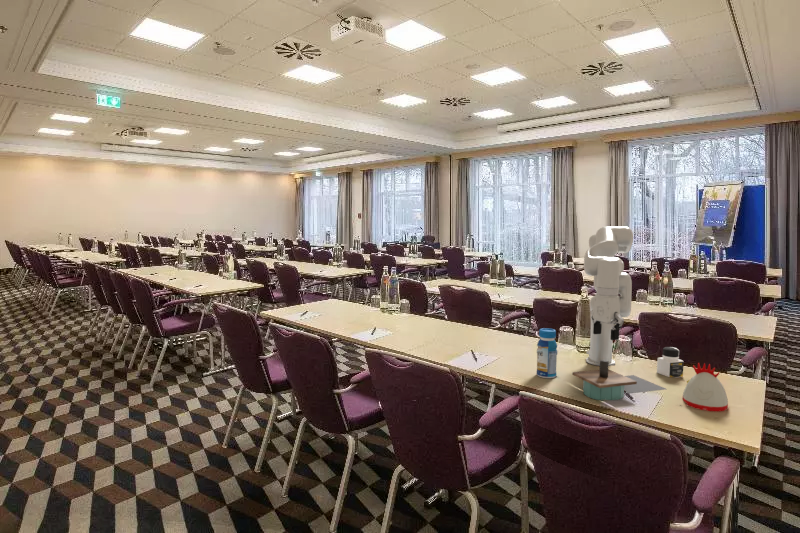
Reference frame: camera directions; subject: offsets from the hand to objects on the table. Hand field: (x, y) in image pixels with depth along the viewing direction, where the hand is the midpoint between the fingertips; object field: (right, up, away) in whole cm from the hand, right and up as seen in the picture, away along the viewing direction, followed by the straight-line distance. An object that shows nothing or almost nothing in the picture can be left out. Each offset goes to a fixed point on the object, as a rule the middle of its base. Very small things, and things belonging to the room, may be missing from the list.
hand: (605, 336), depth 184 cm
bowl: (0, -22, +2) cm, 22 cm away
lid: (0, -16, +1) cm, 16 cm away
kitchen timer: (+32, -23, -8) cm, 41 cm away
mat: (+15, -21, +12) cm, 29 cm away
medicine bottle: (+38, -20, +25) cm, 49 cm away
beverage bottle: (-15, -20, +24) cm, 35 cm away
